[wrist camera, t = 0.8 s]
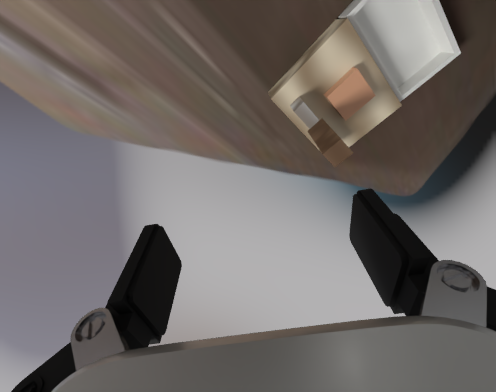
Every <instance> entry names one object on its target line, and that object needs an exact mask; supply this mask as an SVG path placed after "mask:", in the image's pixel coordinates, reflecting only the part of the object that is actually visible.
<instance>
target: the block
mask: <svg viewBox="0 0 496 392" xmlns="http://www.w3.org/2000/svg"><path fill="white" fill-rule="evenodd" d="M323 95H324V96H325V97H326V98H327V100H328V101H329V102H330V103H331V105H332V106H333V107H334V108H335V110H336V111H337V112H338V113H339V115H340V116H341V117H342V118H343V119H344V120H345V121H346V120H347V119H349V118H350V117H351V116H352V115H353V114H355V113H356V112H357V111H358V110H359V109H360V108H362V107H363V106H364V105H365V104H366V103H368V102H369V101H370V100H371V99H372V98H373V97H375V96H376V95H375V94H374V92H373V91H372V89H371V88H370V86H369V85H368V83H367V82H366V81H365V79H364V78H363V76H362V75H361V73H360V72H359V70H358V69H357V68H354V67H352V68H351V69H350V70H349V71H348V72H347V73H346V74H345V75H344V76H343V77H342V78H340V79H339V80H338V81H337V82H336V83H335V84H334V85H333V86H332V87H331V88H330V89H329V90H328V91H327V92H326V93H325V94H323Z"/></svg>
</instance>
